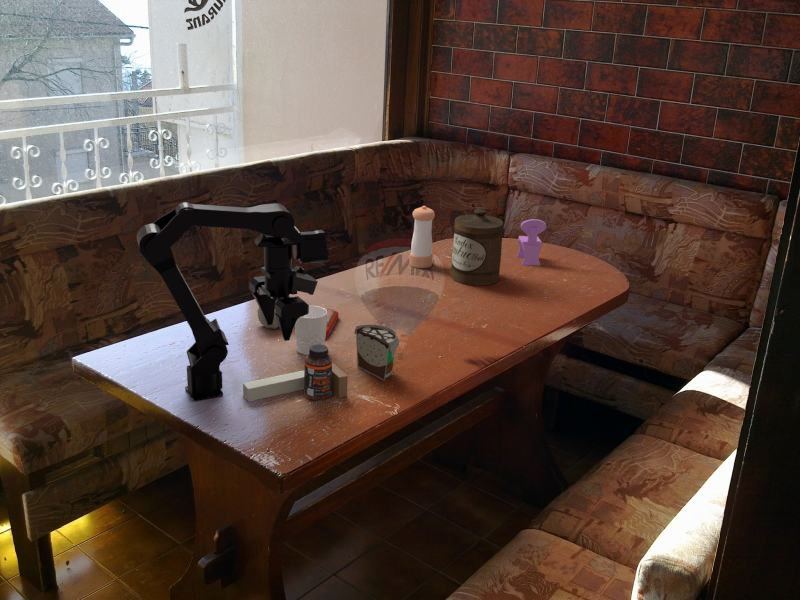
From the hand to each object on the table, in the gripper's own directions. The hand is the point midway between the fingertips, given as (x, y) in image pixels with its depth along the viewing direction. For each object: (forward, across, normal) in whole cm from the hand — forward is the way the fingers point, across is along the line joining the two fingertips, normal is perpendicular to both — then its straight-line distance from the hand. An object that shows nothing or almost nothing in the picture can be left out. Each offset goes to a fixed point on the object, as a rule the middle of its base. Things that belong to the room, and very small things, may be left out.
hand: (278, 332), depth 182 cm
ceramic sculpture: (+13, +32, -14) cm, 37 cm away
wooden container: (+13, +39, -82) cm, 92 cm away
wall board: (+13, -7, -1) cm, 14 cm away
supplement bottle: (+13, -8, -6) cm, 16 cm away
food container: (+13, -4, -24) cm, 27 cm away
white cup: (+13, +13, -14) cm, 23 cm away
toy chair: (+12, +45, -108) cm, 118 cm away
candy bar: (+13, +24, -24) cm, 36 cm away
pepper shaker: (+13, +56, -73) cm, 93 cm away
